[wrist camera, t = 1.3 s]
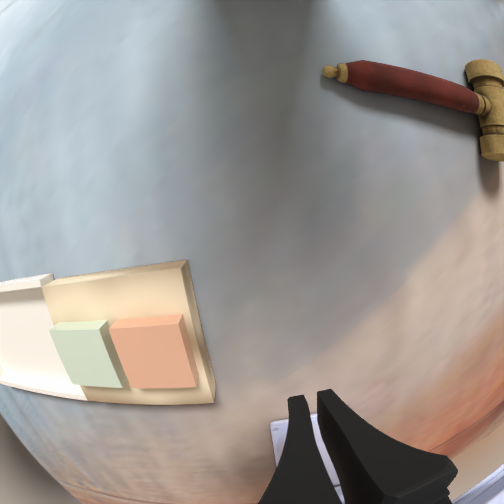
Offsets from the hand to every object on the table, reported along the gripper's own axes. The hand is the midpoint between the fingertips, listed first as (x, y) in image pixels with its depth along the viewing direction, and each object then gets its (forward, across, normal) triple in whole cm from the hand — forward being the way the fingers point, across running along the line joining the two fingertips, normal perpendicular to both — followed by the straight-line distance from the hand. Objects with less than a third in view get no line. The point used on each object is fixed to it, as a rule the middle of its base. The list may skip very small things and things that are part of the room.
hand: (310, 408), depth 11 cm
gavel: (+11, -16, -17) cm, 26 cm away
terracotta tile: (+7, +9, 0) cm, 12 cm away
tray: (+10, +26, 0) cm, 28 cm away
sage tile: (+7, +15, 0) cm, 17 cm away
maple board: (+10, +12, 0) cm, 16 cm away
